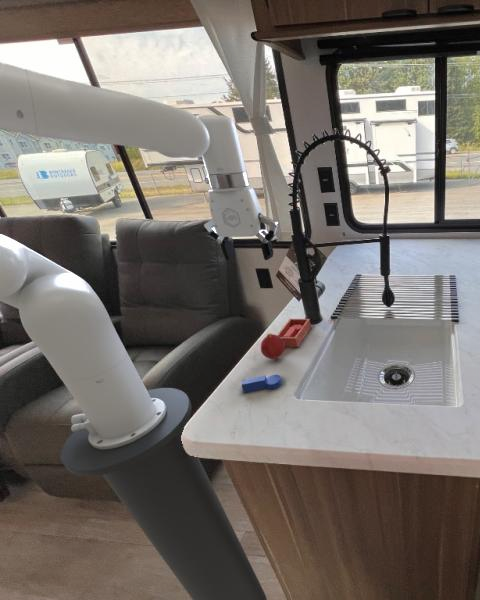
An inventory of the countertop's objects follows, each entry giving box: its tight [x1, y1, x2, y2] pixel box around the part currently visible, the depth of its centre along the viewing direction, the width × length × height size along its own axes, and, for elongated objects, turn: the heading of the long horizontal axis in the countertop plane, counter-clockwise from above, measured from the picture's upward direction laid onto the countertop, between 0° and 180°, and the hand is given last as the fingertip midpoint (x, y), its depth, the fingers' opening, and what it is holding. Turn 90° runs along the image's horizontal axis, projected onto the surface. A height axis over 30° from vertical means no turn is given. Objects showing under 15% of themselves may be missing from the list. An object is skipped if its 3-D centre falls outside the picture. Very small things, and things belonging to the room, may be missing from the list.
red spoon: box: [283, 324, 302, 337], centre depth 90 cm, size 8×3×2 cm, turn 175°
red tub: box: [276, 318, 312, 348], centre depth 90 cm, size 11×6×3 cm, turn 175°
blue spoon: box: [241, 374, 283, 394], centre depth 72 cm, size 8×3×2 cm, turn 106°
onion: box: [260, 332, 286, 360], centre depth 80 cm, size 6×6×8 cm
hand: (249, 258), depth 74 cm, fingers open, 9 cm apart
